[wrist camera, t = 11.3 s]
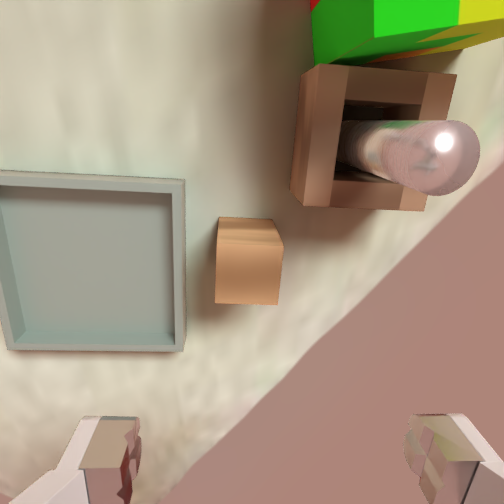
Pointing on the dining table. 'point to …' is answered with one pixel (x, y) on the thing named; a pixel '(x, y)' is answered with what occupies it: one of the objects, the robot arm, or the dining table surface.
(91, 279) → the tray
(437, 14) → the puzzle toy
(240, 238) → the oak block
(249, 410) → the dining table surface
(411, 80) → the brown square socket box
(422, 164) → the cylinder
